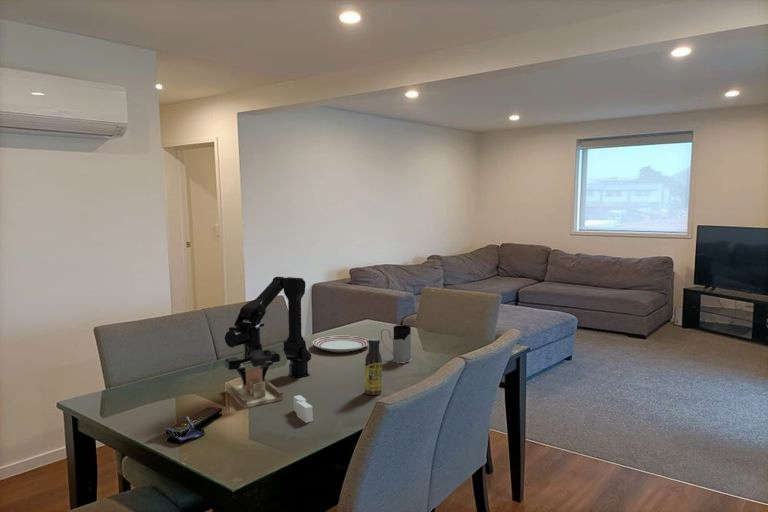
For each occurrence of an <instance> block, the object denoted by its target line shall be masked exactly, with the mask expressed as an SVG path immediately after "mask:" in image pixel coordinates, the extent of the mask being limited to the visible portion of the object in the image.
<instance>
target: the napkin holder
mask: <svg viewBox="0 0 768 512" xmlns="http://www.w3.org/2000/svg"><path fill="white" fill-rule="evenodd" d="M313 408H314V407H313V405H311V404H310V403H308V402H307V398H305V397H303V396H302V395H300V394H299V395H295V396H293V411H294V412H295V413H296V417H297V418H299V419H300V420H301V421H302V422H304V423H306V424H308V423H311V422H313V421H314V419H313V417H314V414H313V412H314V411H313V410H314V409H313Z"/></svg>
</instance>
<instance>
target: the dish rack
mask: <svg viewBox="0 0 768 512" xmlns="http://www.w3.org/2000/svg"><path fill="white" fill-rule="evenodd" d="M225 392H226V393H227V394H229V396H230V397H232V398H233V400H234V401H235V402H236V403H238V404H239V406H241V407H242V409H247V408H251V407H252V408H253V407H257V406H261V405H265V404H270V403H275V402H279V401H284V395H283V394H284V392H283V391H282V390H280V389H279V388H278V387H276V386H275V385H274V384H272V383H271V382H270V381H269V380H267V379H266V378H264V381H263V383H261V379H258V380H252V381H250V390H245V385H244V384H243V382H242V381H241V384H240V385H234V386H232V385H231V383H225Z"/></svg>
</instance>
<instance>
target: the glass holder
mask: <svg viewBox="0 0 768 512" xmlns="http://www.w3.org/2000/svg"><path fill="white" fill-rule="evenodd" d="M384 330H386V331H387V332H388V333H389V334H388V335H389V338H390V339H391V340H392V347H393V348H392V349H393V350H391V349H390V347H388V346H387V344H385V341H384V340H383V335H382V334H383V331H384ZM391 335H392V334H391V331H390V329H388V328H383V329H382V330H381V331H380V340H381V342H382V343H383V345H384V347H385V348H386V349H387V350H388V351H390V353H391V354H392V357H393V358H392V360H393V361H395V362H409V361H411V360H412V361H413V359H412V327H411V326H410V325H405V324H399V325H398V324H397V325H394V326H393V337H392V336H391ZM393 361H392V362H393Z"/></svg>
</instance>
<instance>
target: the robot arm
mask: <svg viewBox="0 0 768 512" xmlns="http://www.w3.org/2000/svg"><path fill="white" fill-rule="evenodd" d="M282 291H283V294H284V296H285V297H286V299H287V305H288V306H287V307H288V309H287V310H288V311H287V312H288V314H287V315H288V316H287V317H288V336H287V339H286V340H284V341H283V349H282V351H284V355H285V357H286V358H285V359H286V360H287V361H289V363H288V364H289V365H288V370H289V371H288V375H289V376H290V377H292V378H294V379H298V378H302V377H308V376H310V373H309V372H308V371H309V370H308V369H309V368H308V367H309V366H308V362H310V361H311V359H312V354H311V352H310V351H309V350H308V349H307V343H306V341H305V339H304V337H303V335H302V298H303V297H304V295H305V293H306V281H305V280H304V278H302V277H293V276H287V277H285V276H275V277H273V279H272V280H271V282H270V283H269V284H268V285H267V286H266V287H265V288H264V289H263V291H262V292H260V294H259V295H258V296H257V297H256V298H255V299H254V300H251V301H248V302H247V303H246V304H244V305H243V306H241V308H240V310H239V314H238V316H237V318H236V320H235V323H234V326H230V327H228V331H227V332H226V333H225V335H224V341H225V344H226V346H228V347H229V348H235V347H236V348H237V347H238V346H241V345H243V350H244V351H243V352H244V353H243V358H240V359H239V358H238V357H236V356H234V357H227V358H225V359H224V367H225V368H226V369H227V370H229V371H234V370H235V371H236V372H238V374H239V376H240V379H241V383H242V382H243V384H244V385H246V379H245V370H246V368H245V367H244V365H246V364H251V365H252V367H253V368H257V367H261V368H262V377H263V381H264V379H266V378H265V377H266V374H267V372H268V370H269V368H270V366H273V364H274V363H278V362H280V361H281V356H280V353H278V352H277V351H275V350H271V349H266V350H263V345H262V343H261V327H264V326H265V323H263V322H262V320H263V318H264V317H265V315H266V312H267V307H268V306H270V304H271V303H272V302H273V301H274V300H275V299H276V298H277V296H278V295H279V294H280V293H281V292H282Z"/></svg>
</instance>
